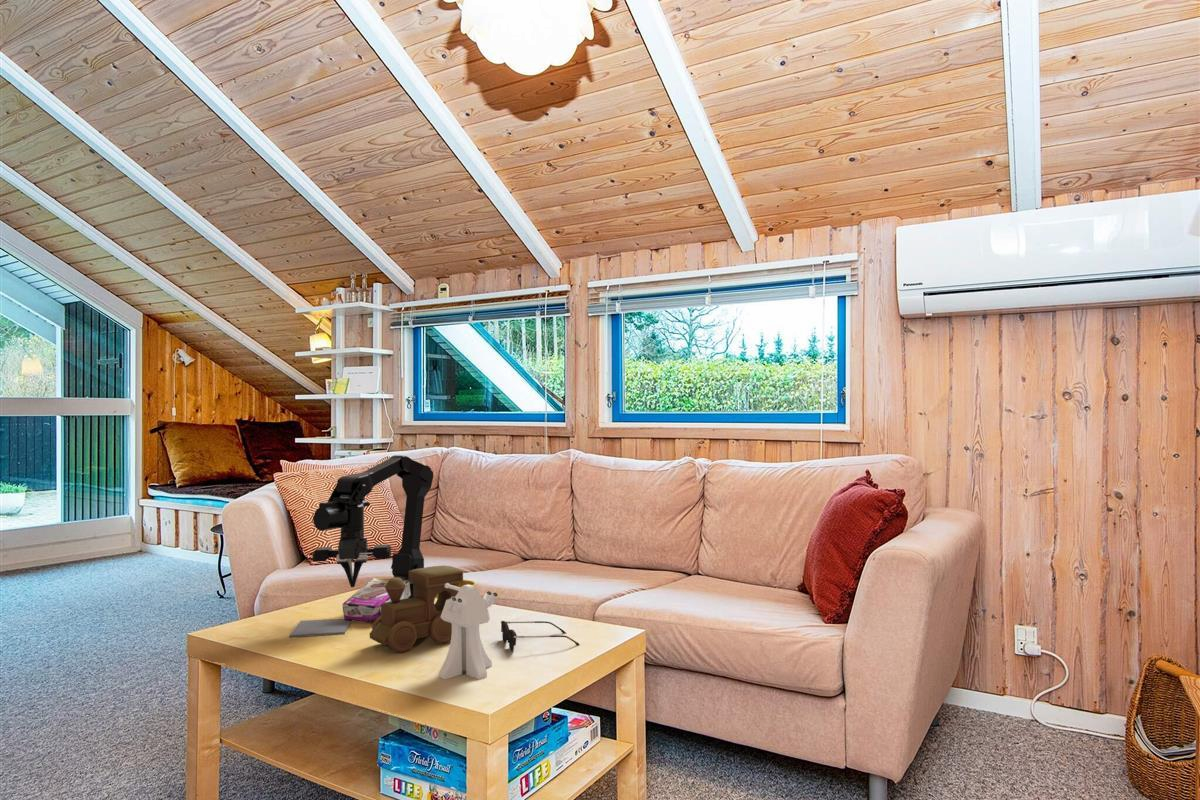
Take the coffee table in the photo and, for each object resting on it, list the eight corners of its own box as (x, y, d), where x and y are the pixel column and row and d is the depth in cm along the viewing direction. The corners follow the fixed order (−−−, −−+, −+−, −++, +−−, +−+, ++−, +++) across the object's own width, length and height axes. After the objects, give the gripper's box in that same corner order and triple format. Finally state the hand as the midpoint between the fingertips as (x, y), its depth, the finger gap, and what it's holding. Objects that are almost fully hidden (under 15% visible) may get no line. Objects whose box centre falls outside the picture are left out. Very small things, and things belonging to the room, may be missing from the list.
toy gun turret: (470, 657, 176) (469, 575, 176) (506, 671, 166) (505, 584, 167) (422, 670, 168) (421, 584, 168) (458, 685, 158) (457, 593, 158)
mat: (352, 619, 210) (352, 617, 210) (344, 634, 197) (344, 631, 197) (300, 622, 208) (300, 620, 208) (289, 637, 194) (289, 635, 194)
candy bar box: (341, 602, 206) (373, 576, 222) (343, 620, 207) (375, 593, 223) (380, 606, 204) (410, 579, 219) (382, 624, 205) (411, 596, 220)
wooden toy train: (443, 630, 199) (443, 563, 199) (466, 640, 190) (465, 570, 190) (366, 646, 186) (365, 574, 186) (387, 657, 177) (386, 582, 177)
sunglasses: (499, 640, 191) (500, 619, 191) (564, 637, 196) (565, 616, 196) (513, 656, 178) (514, 633, 178) (581, 652, 183) (582, 630, 183)
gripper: (308, 531, 195) (308, 595, 194) (387, 528, 198) (387, 591, 198) (316, 525, 206) (316, 586, 205) (390, 522, 209) (391, 582, 209)
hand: (352, 586), depth 204 cm, fingers closed
